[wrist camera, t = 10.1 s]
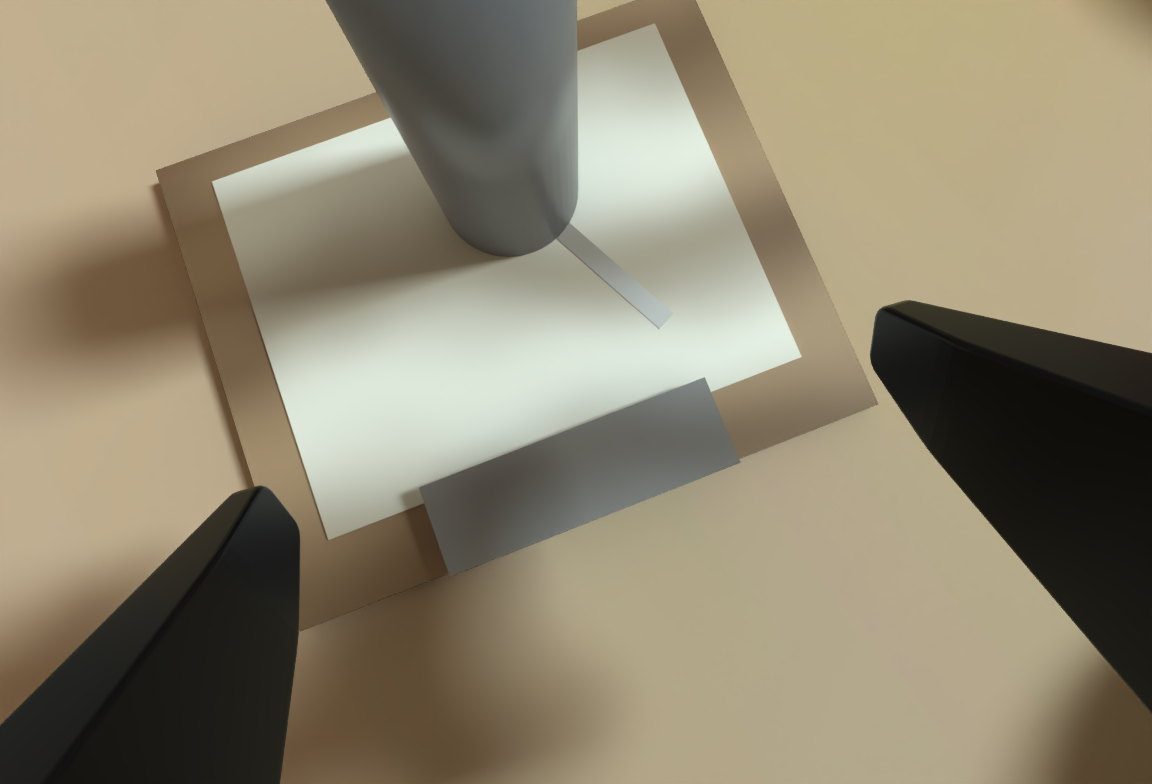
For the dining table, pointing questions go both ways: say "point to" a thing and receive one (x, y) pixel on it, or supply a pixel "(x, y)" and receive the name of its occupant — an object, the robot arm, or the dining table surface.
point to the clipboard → (507, 320)
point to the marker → (480, 107)
